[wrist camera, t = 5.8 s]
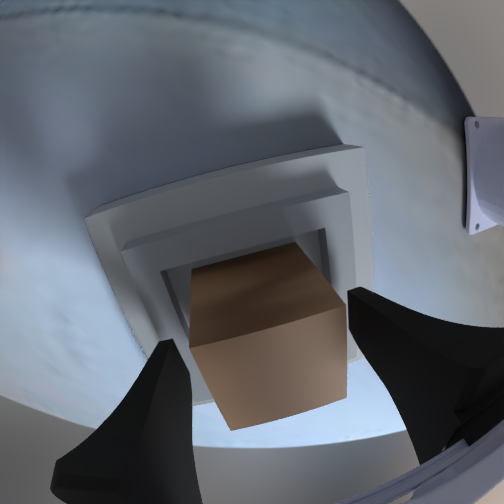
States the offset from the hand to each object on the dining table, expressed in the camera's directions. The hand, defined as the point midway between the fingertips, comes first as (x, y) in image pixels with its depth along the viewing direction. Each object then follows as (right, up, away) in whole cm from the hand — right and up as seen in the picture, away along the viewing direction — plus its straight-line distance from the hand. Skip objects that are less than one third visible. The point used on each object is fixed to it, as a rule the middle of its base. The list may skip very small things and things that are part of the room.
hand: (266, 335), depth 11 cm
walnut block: (0, +1, +2) cm, 2 cm away
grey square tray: (-1, +2, +4) cm, 4 cm away
